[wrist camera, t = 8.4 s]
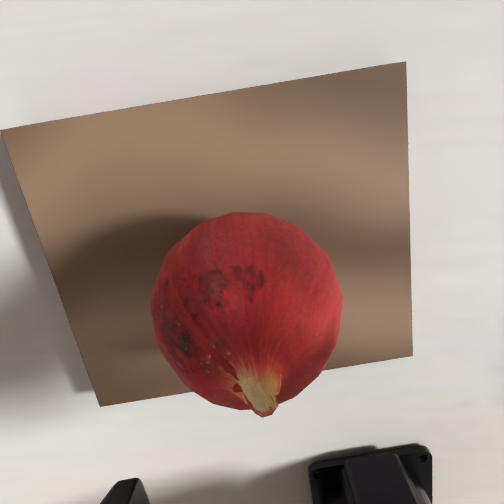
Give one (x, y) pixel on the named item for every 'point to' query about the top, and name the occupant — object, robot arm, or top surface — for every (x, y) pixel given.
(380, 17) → the top surface
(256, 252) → the onion
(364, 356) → the walnut board
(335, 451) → the top surface
